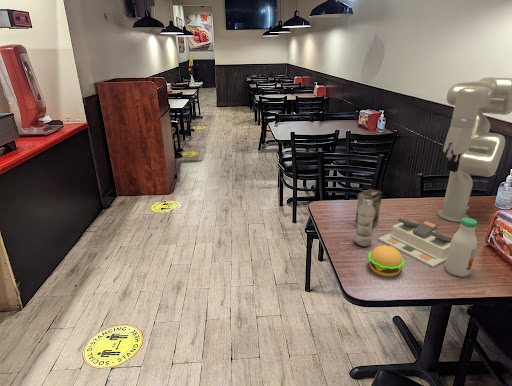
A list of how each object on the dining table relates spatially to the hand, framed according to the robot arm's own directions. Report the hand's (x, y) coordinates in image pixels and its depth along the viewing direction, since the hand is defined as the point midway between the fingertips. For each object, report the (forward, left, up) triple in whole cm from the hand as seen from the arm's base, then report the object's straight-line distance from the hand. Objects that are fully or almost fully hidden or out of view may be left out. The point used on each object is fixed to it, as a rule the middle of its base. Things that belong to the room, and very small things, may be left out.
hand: (452, 170), depth 133 cm
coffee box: (+17, -23, -29) cm, 41 cm away
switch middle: (+11, 0, -22) cm, 25 cm away
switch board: (+14, 0, -29) cm, 33 cm away
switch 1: (+11, -7, -22) cm, 26 cm away
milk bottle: (+18, +18, -29) cm, 38 cm away
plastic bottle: (+31, -13, -29) cm, 45 cm away
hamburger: (+38, +3, -29) cm, 48 cm away
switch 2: (+11, +7, -22) cm, 26 cm away
